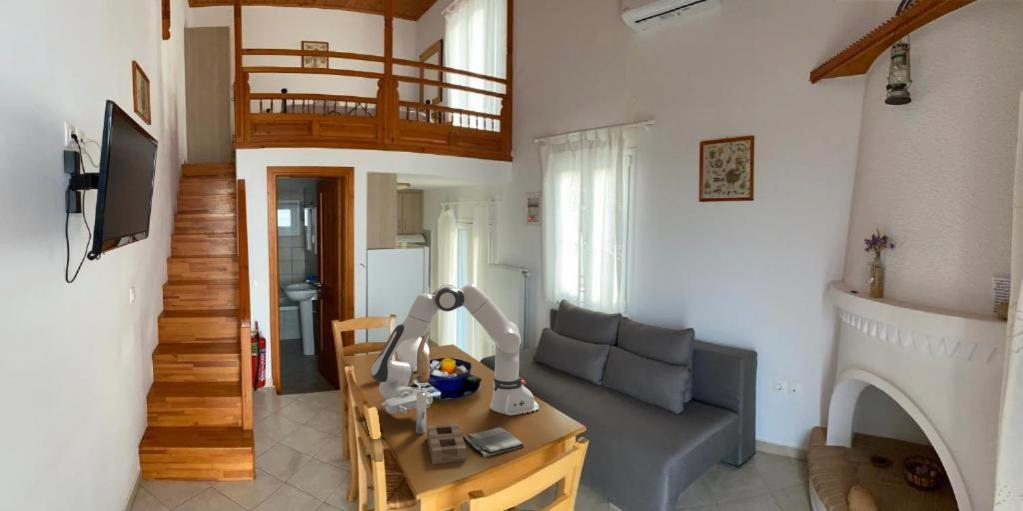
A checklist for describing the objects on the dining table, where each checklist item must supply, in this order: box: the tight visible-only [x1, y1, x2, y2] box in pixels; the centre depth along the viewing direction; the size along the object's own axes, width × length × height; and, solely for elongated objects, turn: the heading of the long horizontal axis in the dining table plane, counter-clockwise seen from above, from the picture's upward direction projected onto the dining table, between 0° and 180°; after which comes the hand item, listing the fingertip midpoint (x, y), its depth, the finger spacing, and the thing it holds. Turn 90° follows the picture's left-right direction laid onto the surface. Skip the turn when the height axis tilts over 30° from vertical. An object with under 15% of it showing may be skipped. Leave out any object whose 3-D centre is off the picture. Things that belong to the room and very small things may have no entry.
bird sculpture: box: [411, 329, 431, 387], centre depth 243 cm, size 11×12×32 cm
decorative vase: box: [396, 337, 430, 372], centre depth 275 cm, size 18×18×25 cm
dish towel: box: [462, 426, 525, 458], centre depth 191 cm, size 19×18×3 cm
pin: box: [415, 392, 427, 435], centre depth 197 cm, size 4×4×16 cm
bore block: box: [426, 423, 467, 465], centre depth 184 cm, size 20×12×5 cm, turn 15°
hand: (418, 408), depth 199 cm, fingers open, 8 cm apart
